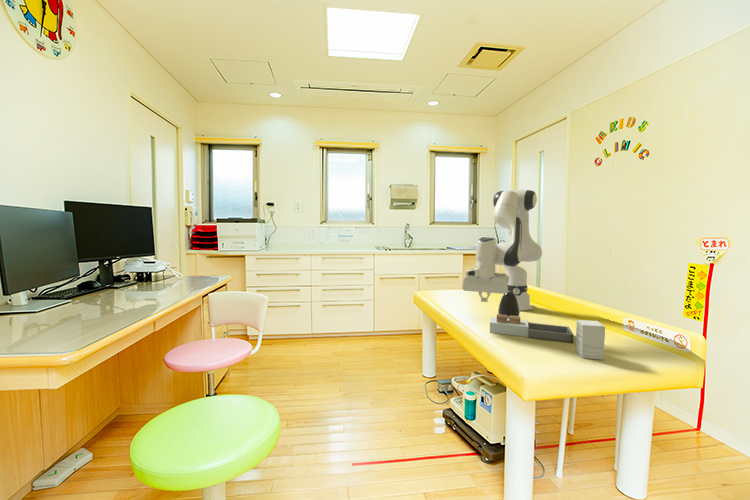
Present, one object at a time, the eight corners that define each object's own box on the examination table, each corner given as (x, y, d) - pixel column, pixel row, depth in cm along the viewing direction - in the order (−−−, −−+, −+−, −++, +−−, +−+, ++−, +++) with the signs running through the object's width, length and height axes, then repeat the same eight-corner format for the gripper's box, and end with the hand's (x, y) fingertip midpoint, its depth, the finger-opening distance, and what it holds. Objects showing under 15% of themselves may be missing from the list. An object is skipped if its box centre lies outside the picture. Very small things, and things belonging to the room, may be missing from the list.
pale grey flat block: (490, 326, 159) (490, 317, 159) (526, 330, 153) (527, 320, 153) (489, 332, 150) (489, 322, 149) (528, 337, 144) (528, 326, 143)
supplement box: (596, 353, 126) (598, 320, 125) (603, 360, 119) (605, 326, 118) (574, 350, 128) (576, 319, 127) (580, 358, 121) (582, 324, 120)
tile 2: (509, 320, 153) (509, 315, 153) (519, 321, 151) (520, 316, 151) (509, 323, 149) (509, 317, 149) (520, 324, 147) (520, 318, 147)
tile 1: (496, 319, 155) (497, 314, 155) (507, 320, 153) (507, 315, 153) (496, 321, 151) (496, 316, 151) (507, 322, 149) (507, 317, 149)
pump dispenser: (515, 318, 174) (516, 289, 172) (522, 323, 163) (523, 293, 162) (495, 317, 175) (496, 289, 173) (501, 323, 164) (502, 293, 163)
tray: (526, 329, 154) (527, 322, 154) (568, 334, 147) (568, 326, 147) (528, 337, 143) (528, 329, 142) (573, 343, 136) (573, 334, 136)
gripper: (509, 272, 152) (508, 302, 153) (463, 270, 160) (463, 298, 161) (509, 274, 147) (508, 305, 147) (462, 271, 154) (461, 300, 155)
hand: (484, 301), depth 154 cm, fingers closed
